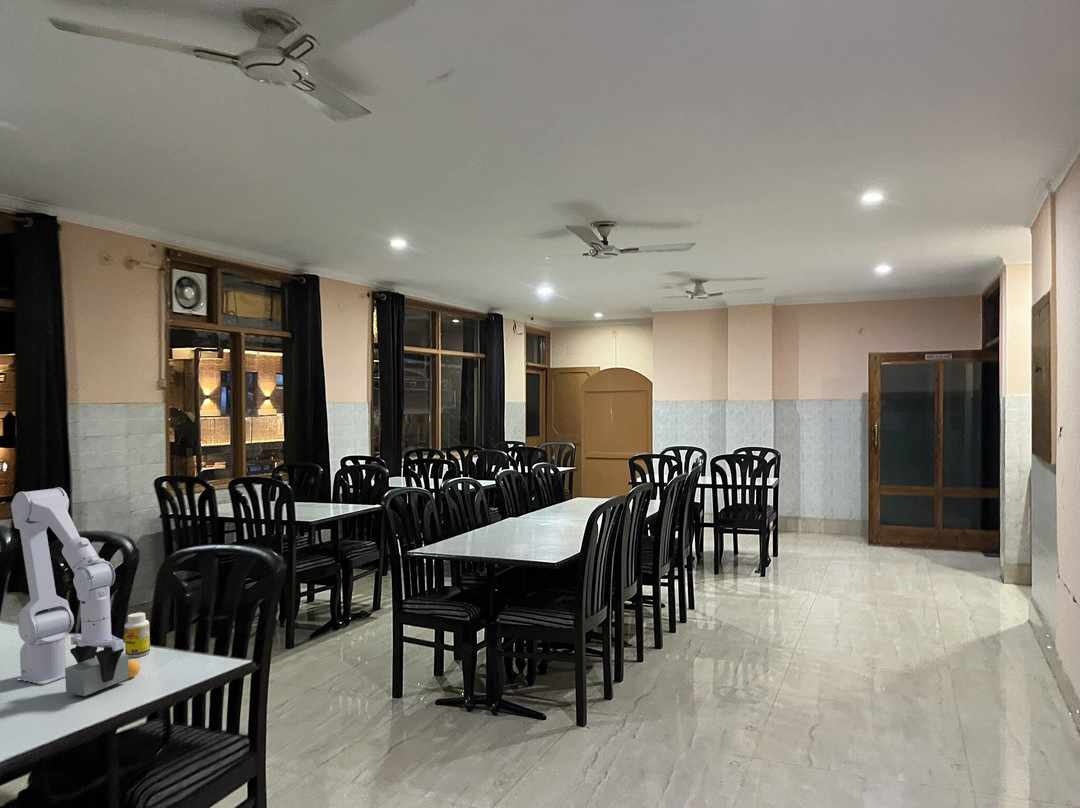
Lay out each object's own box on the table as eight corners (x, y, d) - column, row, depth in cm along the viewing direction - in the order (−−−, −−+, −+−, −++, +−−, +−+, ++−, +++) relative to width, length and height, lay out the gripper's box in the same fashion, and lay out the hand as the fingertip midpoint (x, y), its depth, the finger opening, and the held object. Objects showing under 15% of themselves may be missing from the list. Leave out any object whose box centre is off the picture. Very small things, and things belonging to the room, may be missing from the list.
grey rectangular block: (66, 692, 167) (64, 668, 167) (110, 675, 177) (109, 652, 177) (84, 696, 165) (83, 671, 165) (128, 678, 175) (127, 654, 175)
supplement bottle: (120, 656, 194) (119, 616, 194) (141, 649, 199) (140, 610, 199) (134, 659, 191) (132, 618, 191) (155, 652, 196) (153, 612, 196)
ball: (128, 655, 180) (134, 668, 182) (113, 666, 177) (120, 680, 178) (139, 657, 179) (146, 670, 180) (125, 668, 175) (132, 682, 177)
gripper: (56, 620, 170) (59, 681, 170) (101, 626, 164) (103, 689, 165) (86, 611, 177) (89, 670, 177) (130, 617, 171) (133, 678, 171)
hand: (98, 679), depth 171 cm, fingers closed on grey rectangular block, 6 cm apart
